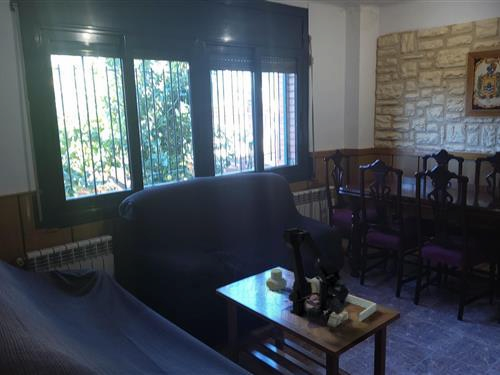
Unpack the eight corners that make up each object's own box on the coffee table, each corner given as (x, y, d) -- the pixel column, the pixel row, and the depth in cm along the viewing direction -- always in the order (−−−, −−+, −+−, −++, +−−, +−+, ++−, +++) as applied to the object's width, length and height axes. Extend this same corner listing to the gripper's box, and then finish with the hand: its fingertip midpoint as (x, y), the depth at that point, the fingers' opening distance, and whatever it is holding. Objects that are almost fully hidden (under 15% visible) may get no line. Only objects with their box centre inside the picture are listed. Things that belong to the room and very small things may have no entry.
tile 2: (341, 322, 188) (341, 316, 188) (332, 318, 192) (332, 312, 191) (347, 319, 191) (348, 312, 191) (338, 315, 195) (339, 309, 195)
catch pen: (360, 321, 189) (360, 314, 188) (328, 309, 200) (328, 302, 199) (375, 310, 199) (376, 303, 198) (344, 300, 210) (345, 293, 209)
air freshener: (263, 288, 224) (263, 270, 223) (272, 283, 231) (272, 265, 229) (280, 293, 218) (280, 275, 216) (289, 288, 224) (289, 270, 222)
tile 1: (334, 327, 184) (335, 321, 183) (324, 324, 187) (324, 317, 187) (340, 323, 188) (340, 317, 187) (330, 319, 191) (330, 313, 190)
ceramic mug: (306, 291, 221) (306, 277, 219) (317, 286, 226) (317, 273, 224) (322, 298, 213) (322, 283, 211) (332, 293, 218) (333, 279, 216)
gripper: (329, 304, 168) (328, 341, 171) (354, 290, 181) (353, 324, 184) (306, 296, 176) (306, 331, 179) (332, 283, 189) (331, 315, 192)
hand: (325, 325), depth 183 cm, fingers closed
